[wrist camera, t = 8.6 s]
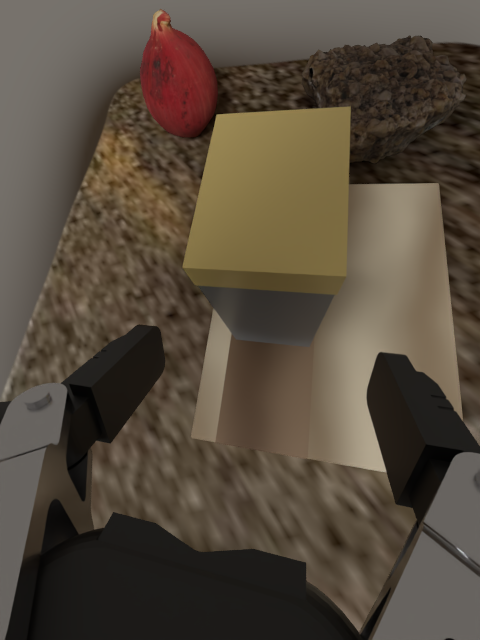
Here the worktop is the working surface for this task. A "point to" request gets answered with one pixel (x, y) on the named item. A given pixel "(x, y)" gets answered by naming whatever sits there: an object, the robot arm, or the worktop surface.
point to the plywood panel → (342, 341)
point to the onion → (177, 80)
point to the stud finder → (273, 222)
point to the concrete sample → (385, 92)
